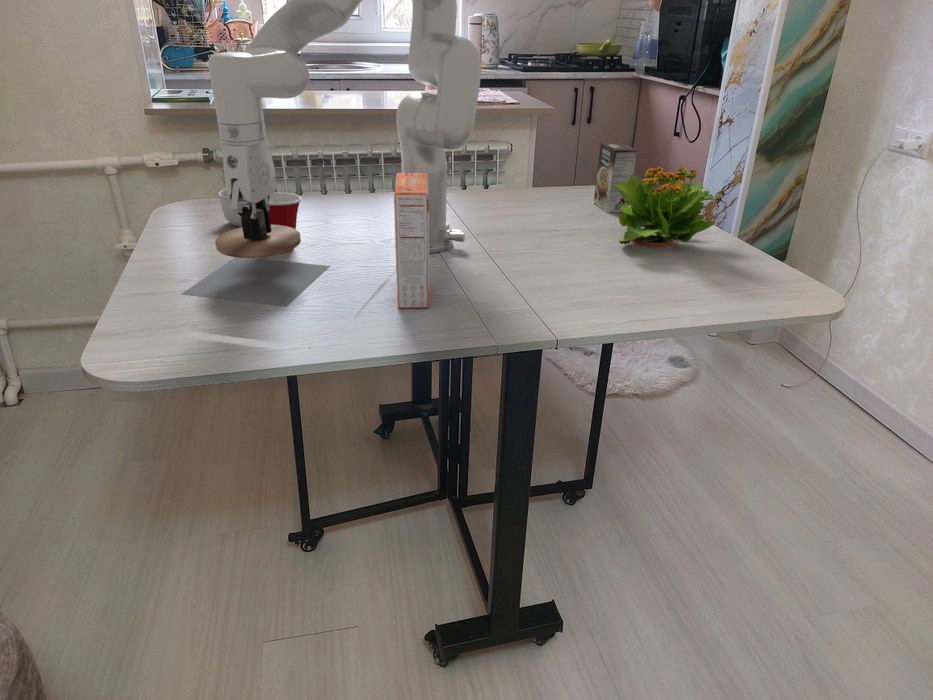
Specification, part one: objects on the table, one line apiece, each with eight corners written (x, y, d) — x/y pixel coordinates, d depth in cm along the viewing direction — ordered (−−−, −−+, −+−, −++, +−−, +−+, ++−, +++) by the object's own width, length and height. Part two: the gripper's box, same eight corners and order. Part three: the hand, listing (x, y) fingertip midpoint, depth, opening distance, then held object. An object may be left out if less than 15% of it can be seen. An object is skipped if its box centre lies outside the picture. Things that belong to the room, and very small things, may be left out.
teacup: (263, 231, 154) (259, 196, 150) (216, 229, 154) (210, 195, 150) (279, 213, 166) (276, 181, 162) (235, 212, 166) (231, 179, 162)
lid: (313, 232, 129) (310, 201, 126) (279, 261, 116) (274, 227, 113) (241, 227, 131) (236, 196, 129) (200, 254, 119) (193, 221, 116)
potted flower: (583, 226, 164) (592, 153, 156) (670, 222, 170) (683, 151, 162) (630, 262, 143) (642, 180, 135) (727, 256, 149) (745, 176, 140)
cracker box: (397, 279, 131) (395, 171, 121) (428, 279, 131) (429, 171, 121) (395, 309, 118) (392, 191, 109) (429, 309, 119) (430, 192, 109)
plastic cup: (316, 248, 145) (312, 193, 139) (284, 264, 136) (278, 205, 130) (276, 240, 149) (270, 185, 143) (242, 254, 140) (234, 197, 134)
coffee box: (592, 203, 183) (599, 142, 175) (614, 202, 184) (622, 141, 177) (606, 212, 175) (614, 149, 168) (628, 211, 177) (638, 149, 169)
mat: (330, 269, 134) (330, 266, 134) (286, 310, 117) (286, 306, 116) (237, 259, 137) (237, 256, 137) (182, 297, 120) (181, 293, 120)
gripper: (239, 143, 106) (256, 253, 115) (284, 124, 120) (296, 223, 129) (196, 141, 108) (216, 249, 117) (245, 122, 122) (260, 220, 131)
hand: (258, 234), depth 123 cm, fingers closed on lid, 3 cm apart
